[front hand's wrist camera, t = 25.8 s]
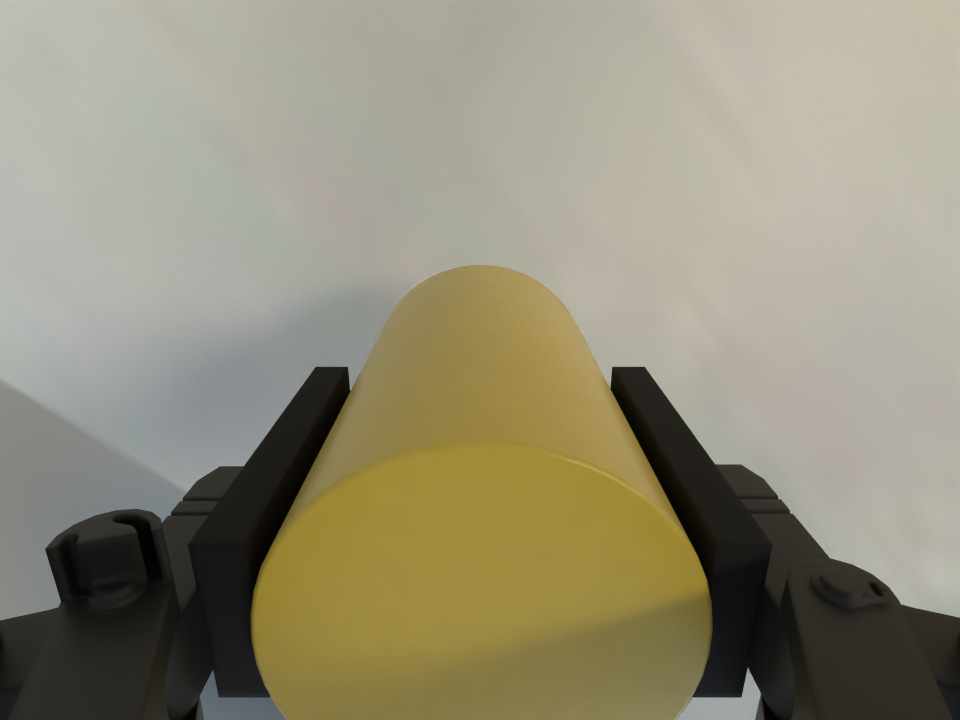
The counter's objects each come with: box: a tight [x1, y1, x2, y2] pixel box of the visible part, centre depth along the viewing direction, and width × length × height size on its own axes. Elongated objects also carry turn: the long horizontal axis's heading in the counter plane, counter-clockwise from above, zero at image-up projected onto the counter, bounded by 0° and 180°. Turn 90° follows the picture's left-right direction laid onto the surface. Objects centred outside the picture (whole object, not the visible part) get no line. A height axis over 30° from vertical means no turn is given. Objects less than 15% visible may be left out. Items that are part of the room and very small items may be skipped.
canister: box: [251, 265, 713, 720], centre depth 13 cm, size 6×6×10 cm
